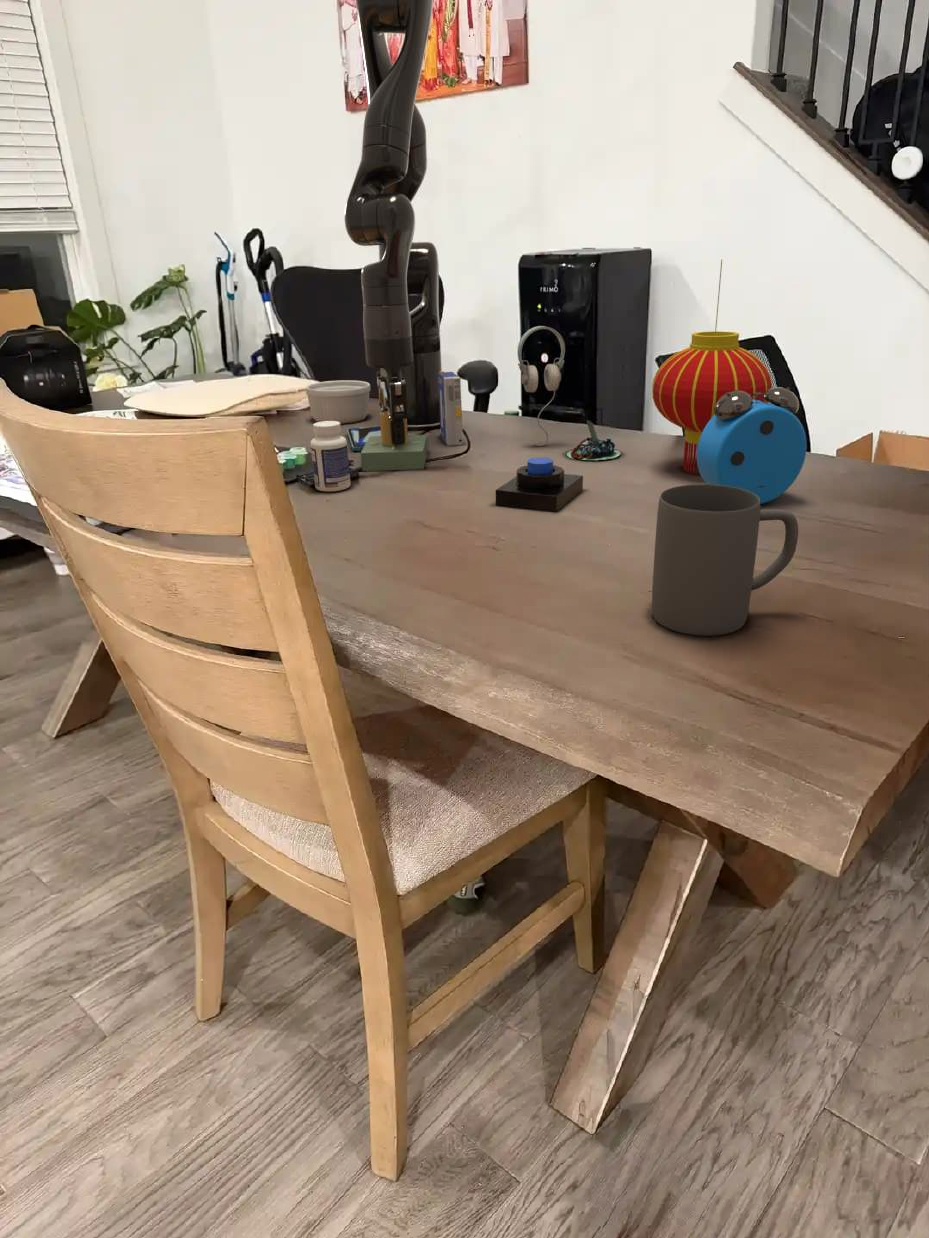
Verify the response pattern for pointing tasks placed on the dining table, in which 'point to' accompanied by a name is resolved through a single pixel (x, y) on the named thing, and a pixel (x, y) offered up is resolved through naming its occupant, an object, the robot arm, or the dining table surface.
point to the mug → (711, 557)
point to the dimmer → (394, 454)
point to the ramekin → (339, 400)
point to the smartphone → (362, 436)
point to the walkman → (450, 408)
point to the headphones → (550, 373)
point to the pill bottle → (330, 457)
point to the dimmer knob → (386, 429)
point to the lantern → (705, 382)
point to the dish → (594, 447)
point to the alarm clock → (753, 443)
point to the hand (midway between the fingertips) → (394, 439)
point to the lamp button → (540, 466)
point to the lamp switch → (539, 490)
